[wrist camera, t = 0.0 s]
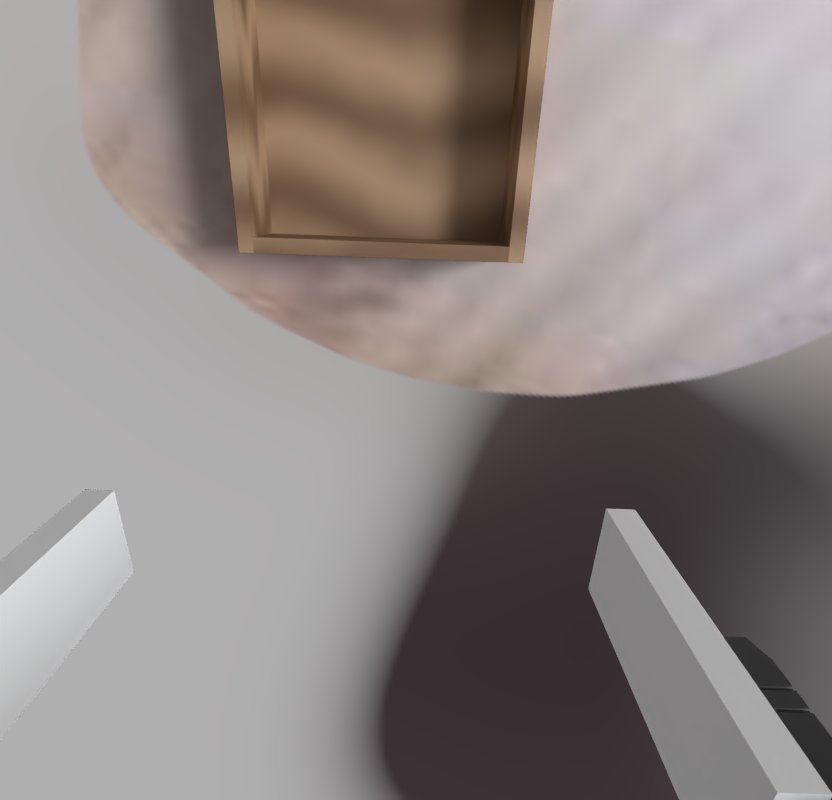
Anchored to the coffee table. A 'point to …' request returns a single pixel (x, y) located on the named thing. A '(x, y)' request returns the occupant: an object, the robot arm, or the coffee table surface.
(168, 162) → the coffee table surface
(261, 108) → the walnut box
